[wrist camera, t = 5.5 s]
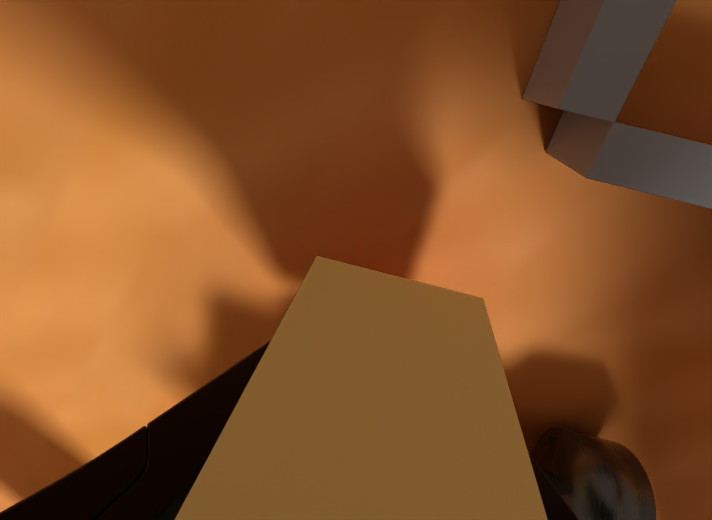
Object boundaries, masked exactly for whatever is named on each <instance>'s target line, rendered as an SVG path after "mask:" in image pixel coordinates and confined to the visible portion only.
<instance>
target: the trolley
mask: <svg viewBox="0 0 712 520" xmlns="http://www.w3.org/2000/svg"><path fill="white" fill-rule="evenodd" d="M532 457H533V459H534V460H535V461H536V463H537V464H538V465H539V467H540V468H541V469H542V471H543V472H544V473H545V475H546V476H547V477H548V479H549V480H550V481H551V483H552V484H553V486H554V487H555V488H556V490H557V491H558V492H559V494H560V495H561V496H562V498H563V499H564V500H565V502H566V503H567V504H568V506H569V507H570V509H571V510H572V511H573V513H574V514H575V515H576V517H577V518H578V519H579V520H656V507H655V500H654V495H653V491H652V487H651V484H650V481H649V479H648V476H647V474H646V472H645V470H644V468H643V466H642V465H641V463H640V462H639V460H638V459H637V458H636V456H635V455H634V454H633V453H632V452H631V451H630V450H629V449H627V448H626V447H625V446H623V445H621V444H619V443H616V442H613V441H609V440H605V439H601V438H598V437H594V436H590V435H586V434H583V433H579V432H575V431H571V430H567V429H564V428H559V427H555V428H551V429H549V430H547V431H546V432H545V433H544V434H543V435H542V436H541V438H540V439H539V441H538V442H537V444H536V447H535V449H534V452H533V455H532Z"/></svg>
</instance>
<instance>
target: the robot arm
mask: <svg viewBox="0 0 712 520" xmlns="http://www.w3.org/2000/svg"><path fill="white" fill-rule="evenodd" d="M270 342H271V340H270V341H269V342H267V343H266V344H264V345H263V346H261V347H260V348H259V349H257V350H256V351H254V352H253V353H251V354H250V355H248V356H247V357H245V358H244V359H242V360H241V361H239V362H238V363H236V364H235V365H233V366H232V367H231V368H229V369H228V370H226V371H225V372H223V373H222V374H220V375H219V376H217V377H216V378H214V379H213V380H211V381H210V382H208V383H207V384H205V385H204V386H203V387H201V388H200V389H198V390H197V391H195V392H194V393H192V394H191V395H189V396H188V397H186V398H185V399H183V400H182V401H180V402H179V403H177V404H176V405H175V406H173V407H172V408H170V409H169V410H167V411H166V412H164V413H163V414H161V415H160V416H158V417H157V418H155V419H154V420H152V421H151V422H150V423H148V425H147V427H146V426H143V427H142V428H140V429H139V430H137V431H136V432H134V433H133V434H132V435H130V436H129V437H127V438H126V439H124V440H123V441H121V442H119V443H118V444H116V445H115V446H113V447H112V448H110V449H109V450H107V451H106V452H104V453H102V454H101V455H99V456H98V457H96V458H95V459H93V460H91V461H89V462H88V463H86V464H84V465H83V466H81V467H79V468H78V469H76V470H74V471H72V472H71V473H69V474H67V475H66V476H64V477H62V478H61V479H59V480H57V481H55V482H54V483H52V484H50V485H48V486H46V487H45V488H43V489H41V490H39V491H38V492H36V493H34V494H32V495H31V496H29V497H27V498H25V499H23V500H22V501H20V502H18V503H16V504H15V505H13V506H11V507H9V508H7V509H6V510H4V511H2V512H0V520H175V518H176V516H177V514H178V512H179V511H180V509H181V507H182V505H183V503H184V501H185V499H186V498H187V496H188V494H189V492H190V490H191V488H192V486H193V485H194V483H195V481H196V479H197V477H198V475H199V473H200V472H201V470H202V468H203V466H204V464H205V462H206V460H207V459H208V457H209V455H210V453H211V451H212V449H213V447H214V446H215V444H216V442H217V440H218V438H219V436H220V434H221V433H222V431H223V429H224V427H225V425H226V423H227V421H228V420H229V418H230V416H231V414H232V412H233V410H234V408H235V407H236V405H237V403H238V401H239V399H240V397H241V395H242V394H243V392H244V390H245V388H246V386H247V384H248V382H249V381H250V379H251V377H252V375H253V373H254V371H255V369H256V368H257V366H258V364H259V362H260V360H261V358H262V356H263V355H264V353H265V351H266V349H267V347H268V345H269V343H270ZM527 451H528V450H527ZM528 454H529V458H530V461H531V464H532V468H533V471H534V475H535V478H536V482H537V485H538V488H539V492H540V495H541V499H542V502H543V506H544V509H545V512H546V516H547V519H548V520H579V519H578V518H577V517H576V515H575V514H574V513H573V511H572V510H571V509H570V507H569V506H568V504H567V503H566V502H565V500H564V499H563V498H562V496H561V495H560V494H559V492H558V491H557V490H556V488H555V487H554V486H553V484H552V483H551V481H550V480H549V479H548V477H547V476H546V475H545V473H544V472H543V471H542V469H541V468H540V467H539V465H538V464H537V463H536V461H535V460H534V459H533V457H532V456H531V454H530V453H529V452H528Z"/></svg>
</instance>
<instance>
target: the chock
mask: <svg viewBox="0 0 712 520" xmlns="http://www.w3.org/2000/svg"><path fill="white" fill-rule="evenodd" d="M175 520H548V519H547V516H546V512H545V509H544V506H543V502H542V499H541V495H540V492H539V488H538V485H537V482H536V478H535V475H534V471H533V468H532V464H531V461H530V458H529V454H528V451H527V447H526V444H525V440H524V437H523V434H522V430H521V427H520V423H519V420H518V416H517V413H516V410H515V406H514V403H513V399H512V396H511V392H510V389H509V386H508V382H507V379H506V375H505V372H504V369H503V365H502V362H501V358H500V355H499V351H498V348H497V345H496V341H495V338H494V334H493V331H492V327H491V324H490V321H489V317H488V314H487V310H486V307H485V303H484V300H483V298H480V297H476V296H472V295H468V294H464V293H460V292H456V291H453V290H449V289H445V288H441V287H437V286H433V285H429V284H425V283H421V282H418V281H414V280H410V279H406V278H402V277H398V276H394V275H390V274H386V273H382V272H379V271H375V270H371V269H367V268H363V267H359V266H355V265H351V264H347V263H343V262H340V261H336V260H332V259H328V258H324V257H320V256H316V258H315V260H314V262H313V264H312V266H311V267H310V269H309V271H308V273H307V275H306V277H305V279H304V280H303V282H302V284H301V286H300V288H299V290H298V292H297V293H296V295H295V297H294V299H293V301H292V303H291V305H290V306H289V308H288V310H287V312H286V314H285V316H284V318H283V319H282V321H281V323H280V325H279V327H278V329H277V331H276V332H275V334H274V336H273V338H272V340H271V342H270V343H269V345H268V347H267V349H266V351H265V353H264V355H263V356H262V358H261V360H260V362H259V364H258V366H257V368H256V369H255V371H254V373H253V375H252V377H251V379H250V381H249V382H248V384H247V386H246V388H245V390H244V392H243V394H242V395H241V397H240V399H239V401H238V403H237V405H236V407H235V408H234V410H233V412H232V414H231V416H230V418H229V420H228V421H227V423H226V425H225V427H224V429H223V431H222V433H221V434H220V436H219V438H218V440H217V442H216V444H215V446H214V447H213V449H212V451H211V453H210V455H209V457H208V459H207V460H206V462H205V464H204V466H203V468H202V470H201V472H200V473H199V475H198V477H197V479H196V481H195V483H194V485H193V486H192V488H191V490H190V492H189V494H188V496H187V498H186V499H185V501H184V503H183V505H182V507H181V509H180V511H179V512H178V514H177V516H176V518H175Z"/></svg>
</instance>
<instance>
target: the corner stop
mask: <svg viewBox="0 0 712 520" xmlns="http://www.w3.org/2000/svg"><path fill="white" fill-rule="evenodd" d="M675 2H676V0H560V2H559V4H558V7H557V10H556V12H555V15H554V17H553V20H552V23H551V25H550V28H549V30H548V33H547V35H546V38H545V41H544V43H543V46H542V48H541V51H540V54H539V56H538V59H537V61H536V64H535V67H534V69H533V72H532V74H531V77H530V79H529V82H528V85H527V87H526V90H525V92H524V95H523V98H522V99H524V100H527V101H531V102H535V103H538V104H542V105H546V106H549V107H553V108H557V109H561V110H564V111H563V114H562V116H561V118H560V120H559V123H558V125H557V127H556V129H555V132H554V134H553V136H552V139H551V141H550V143H549V145H548V148H547V150H546V153H547V154H549V155H551V156H552V157H554V158H555V159H557V160H558V161H560V162H562V163H563V164H565V165H566V166H568V167H570V168H571V169H573V170H574V171H576V172H577V173H579V174H581V175H582V176H584V177H585V178H588V179H592V180H596V181H600V182H604V183H608V184H612V185H616V186H620V187H625V188H629V189H633V190H637V191H641V192H645V193H649V194H653V195H657V196H661V197H665V198H669V199H673V200H678V201H682V202H686V203H690V204H694V205H698V206H702V207H706V208H710V209H712V145H711V144H707V143H703V142H699V141H694V140H690V139H686V138H682V137H678V136H674V135H669V134H665V133H661V132H657V131H653V130H649V129H645V128H640V127H636V126H632V125H628V124H624V123H620V122H615V121H616V119H617V117H618V115H619V113H620V111H621V109H622V107H623V105H624V103H625V101H626V99H627V97H628V95H629V93H630V91H631V89H632V87H633V85H634V83H635V81H636V79H637V77H638V75H639V73H640V71H641V69H642V67H643V65H644V63H645V61H646V59H647V57H648V55H649V53H650V51H651V49H652V48H653V46H654V44H655V42H656V40H657V38H658V36H659V34H660V32H661V30H662V28H663V26H664V24H665V22H666V20H667V18H668V16H669V14H670V12H671V10H672V8H673V6H674V4H675Z"/></svg>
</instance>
